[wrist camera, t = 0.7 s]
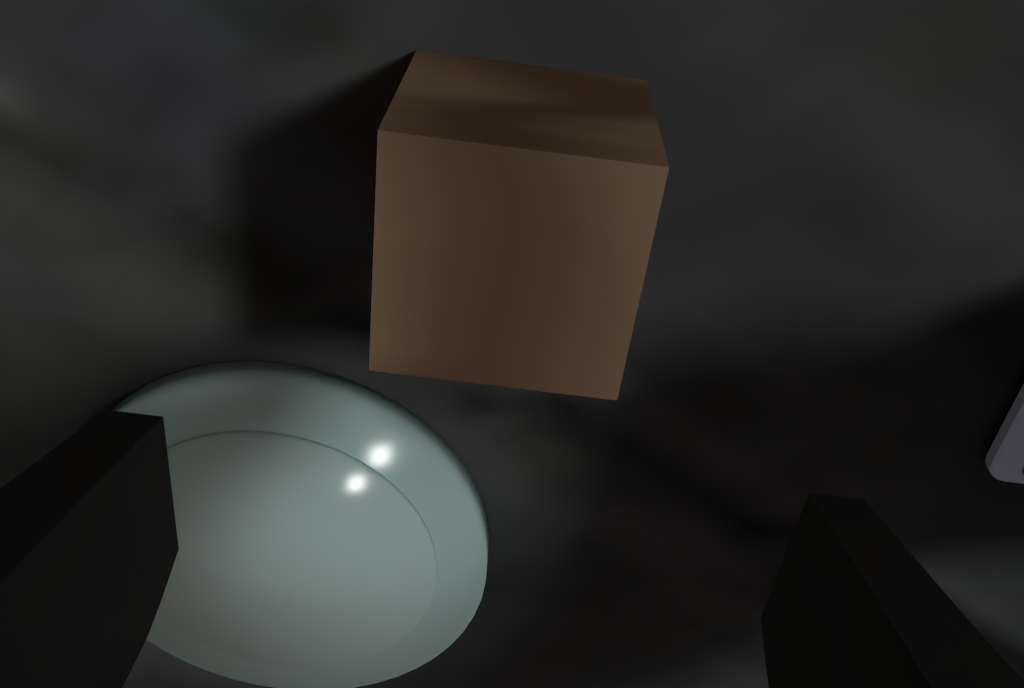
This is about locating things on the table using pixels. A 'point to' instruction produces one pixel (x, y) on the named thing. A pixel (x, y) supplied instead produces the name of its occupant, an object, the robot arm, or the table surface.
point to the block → (513, 224)
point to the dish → (310, 528)
